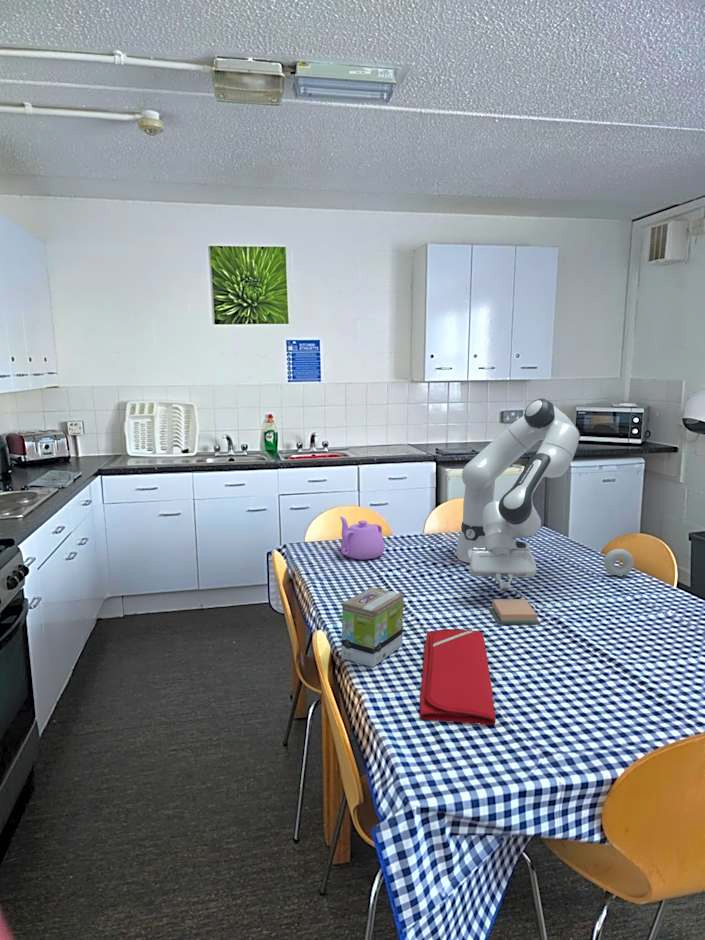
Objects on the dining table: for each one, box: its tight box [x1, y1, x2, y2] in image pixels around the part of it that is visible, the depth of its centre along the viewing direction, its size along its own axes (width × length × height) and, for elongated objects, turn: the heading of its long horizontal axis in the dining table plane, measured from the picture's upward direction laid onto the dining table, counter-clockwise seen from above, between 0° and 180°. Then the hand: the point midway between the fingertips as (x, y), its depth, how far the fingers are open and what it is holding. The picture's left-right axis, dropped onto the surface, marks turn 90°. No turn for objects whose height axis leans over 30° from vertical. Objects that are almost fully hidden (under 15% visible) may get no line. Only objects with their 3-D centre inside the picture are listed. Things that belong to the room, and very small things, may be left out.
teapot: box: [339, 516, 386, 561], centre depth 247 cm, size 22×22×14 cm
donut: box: [603, 548, 635, 577], centre depth 220 cm, size 10×4×10 cm, turn 84°
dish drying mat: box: [419, 628, 497, 726], centre depth 149 cm, size 16×41×4 cm, turn 172°
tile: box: [491, 598, 538, 623], centre depth 185 cm, size 2×10×12 cm
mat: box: [489, 607, 541, 625], centre depth 184 cm, size 11×12×1 cm
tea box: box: [340, 587, 404, 668], centre depth 160 cm, size 15×10×15 cm, turn 148°
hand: (505, 588), depth 191 cm, fingers closed
